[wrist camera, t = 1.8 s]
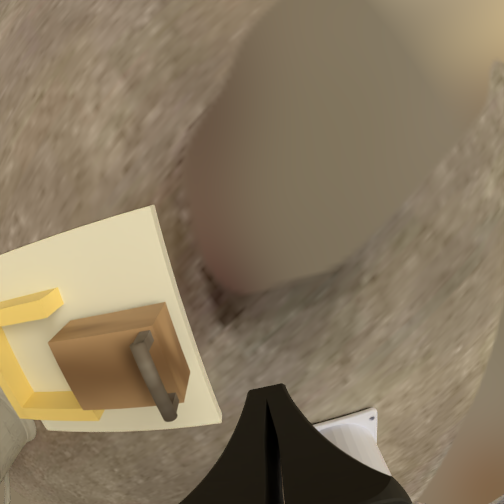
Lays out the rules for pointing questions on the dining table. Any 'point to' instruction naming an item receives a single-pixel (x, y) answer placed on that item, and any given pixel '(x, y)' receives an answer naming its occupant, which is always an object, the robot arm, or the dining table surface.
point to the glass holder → (11, 439)
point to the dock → (86, 305)
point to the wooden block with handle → (124, 360)
